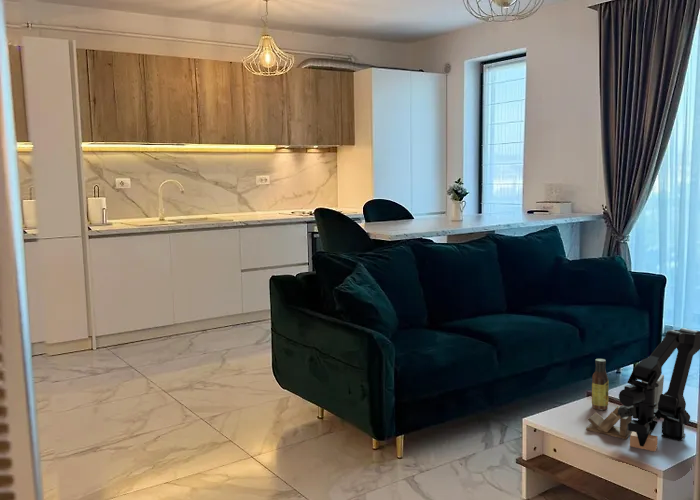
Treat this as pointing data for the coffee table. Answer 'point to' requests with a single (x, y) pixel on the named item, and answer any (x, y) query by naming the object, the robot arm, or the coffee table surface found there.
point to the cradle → (610, 425)
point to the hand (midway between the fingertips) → (643, 443)
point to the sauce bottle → (600, 386)
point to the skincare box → (658, 390)
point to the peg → (649, 444)
